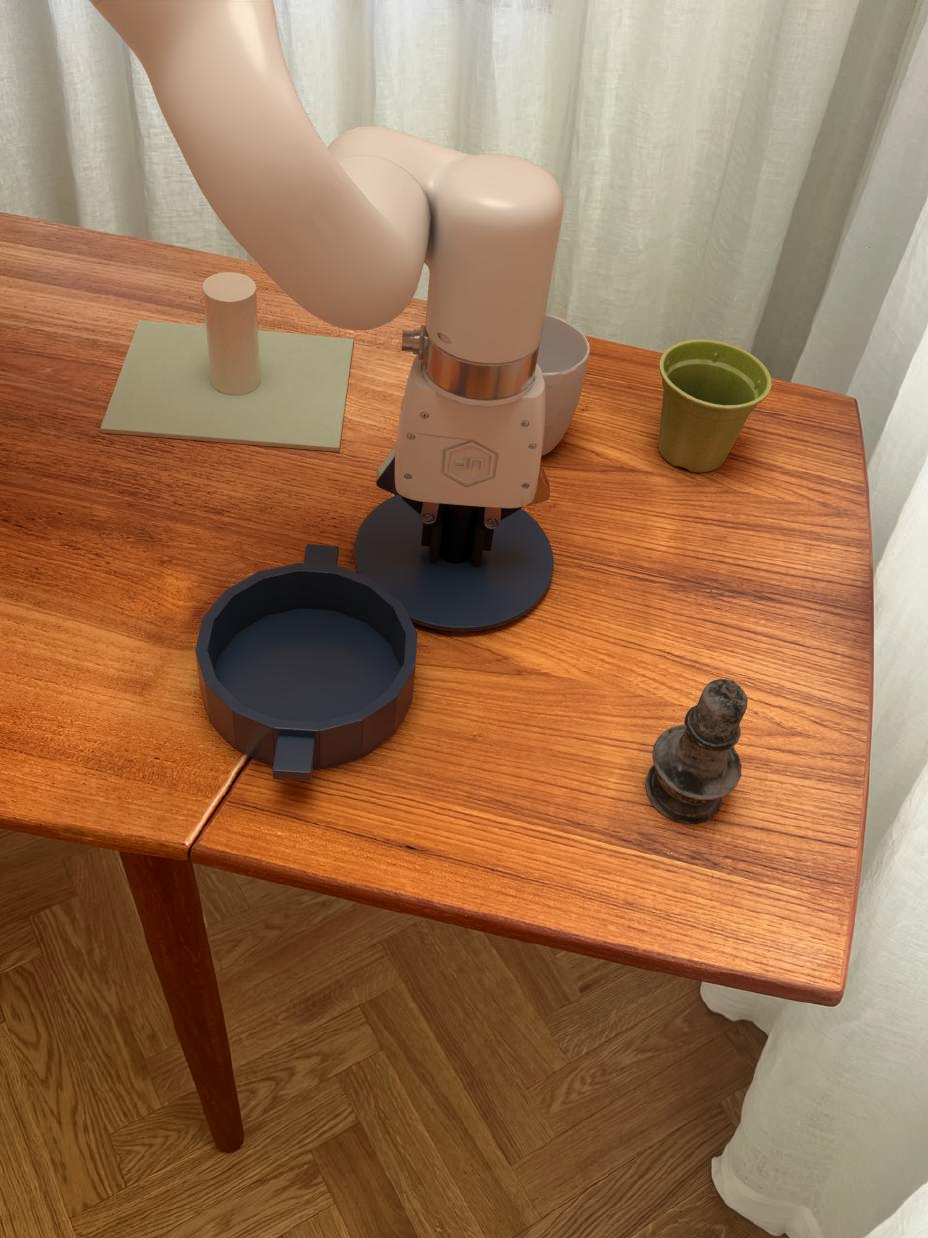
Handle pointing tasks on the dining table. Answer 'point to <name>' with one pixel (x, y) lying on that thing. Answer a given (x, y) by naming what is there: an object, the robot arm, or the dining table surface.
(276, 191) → the robot arm
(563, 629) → the dining table surface
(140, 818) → the dining table surface
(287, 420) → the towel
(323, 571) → the pot
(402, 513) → the pot lid
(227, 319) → the beige tall cylinder
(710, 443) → the plant pot
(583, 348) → the mug
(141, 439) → the dining table surface
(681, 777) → the dark grey chess piece
